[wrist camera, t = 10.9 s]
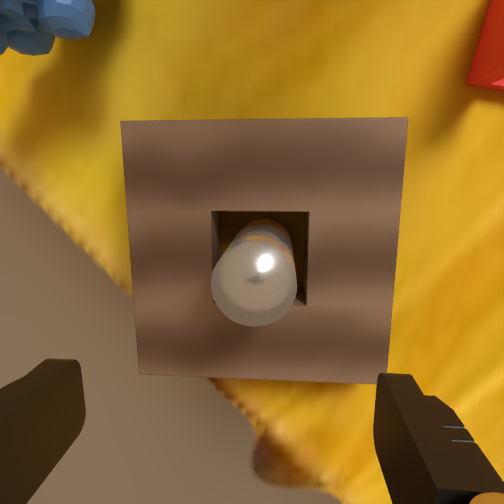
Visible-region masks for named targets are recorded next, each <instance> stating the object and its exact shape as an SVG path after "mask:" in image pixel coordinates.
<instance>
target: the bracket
mask: <svg viewBox="0 0 504 504" xmlns="http://www.w3.org/2000/svg"><path fill="white" fill-rule="evenodd" d="M466 85H472V86H478V87H483V88H489V89H495V90H500V91H504V0H491V1H490V4H489V8H488V11H487V14H486V18H485V21H484V25H483V28H482V31H481V35H480V38H479V42H478V45H477V48H476V52H475V55H474V59H473V62H472V65H471V69H470V72H469V76H468V79H467V82H466Z"/></svg>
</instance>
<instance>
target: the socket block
mask: <svg viewBox="0 0 504 504" xmlns="http://www.w3.org/2000/svg"><path fill="white" fill-rule="evenodd" d="M120 122H121V136H122V149H123V163H124V176H125V190H126V203H127V217H128V231H129V244H130V258H131V271H132V285H133V298H134V312H135V325H136V338H137V351H138V366H139V374H145V375H168V376H169V375H170V376H192V377H216V378H239V379H263V380H287V381H310V382H334V383H358V384H377V379H378V375H379V374H380V373H387V366H388V354H389V342H390V330H391V318H392V306H393V294H394V282H395V270H396V258H397V246H398V234H399V222H400V210H401V198H402V186H403V174H404V162H405V150H406V138H407V126H408V117H389V118H311V119H233V120H155V121H120ZM221 211H306V217H305V252H304V286H303V288H297V293H296V297H295V300H294V303H293V304H292V306H291V308H290V309H289V311H288V312H287V313H286V314H285V315H284V316H283V317H282V318H280V319H279V320H277V321H275V322H273V323H271V324H268V325H265V326H256V327H253V326H246V325H242V324H239V323H236V322H234V321H232V320H231V319H229V318H228V317H227V316H225V315H224V314H223V313H222V312H221V310H220V309H219V308H218V306H217V305H216V303H215V301H214V298H213V296H212V291H211V278H212V273H213V270H214V268H215V266H216V264H217V262H218V261H219V259H220V258H221V257H222V247H221Z"/></svg>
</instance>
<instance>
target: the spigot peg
mask: <svg viewBox="0 0 504 504" xmlns="http://www.w3.org/2000/svg"><path fill="white" fill-rule="evenodd" d="M211 291H212V296H213V298H214V301H215V303H216V305H217V306H218V308H219V309H220V310H221V312H222V313H223V314H224V315H225V316H227V317H228V318H229V319H231V320H232V321H234V322H236V323H239V324H242V325H246V326H253V327H256V326H265V325H268V324H271V323H273V322H275V321H277V320H279V319H280V318H282V317H283V316H284V315H285V314H286V313H287V312H288V311H289V309H290V308H291V306H292V304H293V303H294V300H295V297H296V293H297V279H296V271H295V263H294V255H293V247H292V241H291V237H290V235H289V233H288V232H287V230H286V229H285V228H284V227H283V226H282V225H281V224H279V223H278V222H276V221H273V220H270V219H256V220H253V221H251V222H249V223H247V224H246V225H245V226H243V227H242V229H241V230H240V231H239V233H238V234H237V235H236V237H235V238H234V240H233V241H232V242H231V244H230V245H229V247H228V248H227V250H226V251H225V252H224V254H223V255H222V257H221V258H220V259H219V261H218V262H217V264H216V266H215V268H214V270H213V273H212V278H211Z"/></svg>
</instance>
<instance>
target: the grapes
mask: <svg viewBox="0 0 504 504" xmlns="http://www.w3.org/2000/svg"><path fill="white" fill-rule="evenodd" d="M93 1H94V0H0V54H3V53H4V52H5V50H6V49H7V48H8V46H9V47H10V48H11V49H13V50H15V51H17V52H19V53H21V54H25V55H33V56H35V55H44V54H49V52H50V50H51V49H52V47H53V44H54V41H55V36H56V37H58V38H64V39H71V40H73V39H82V38H87V37H89V35H90V34H91V32H92V29H93V26H94V23H95V19H96V7H95V5H94V3H93Z"/></svg>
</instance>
